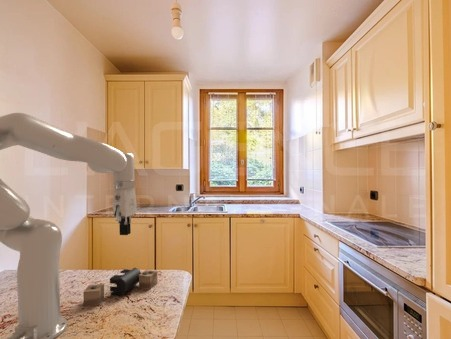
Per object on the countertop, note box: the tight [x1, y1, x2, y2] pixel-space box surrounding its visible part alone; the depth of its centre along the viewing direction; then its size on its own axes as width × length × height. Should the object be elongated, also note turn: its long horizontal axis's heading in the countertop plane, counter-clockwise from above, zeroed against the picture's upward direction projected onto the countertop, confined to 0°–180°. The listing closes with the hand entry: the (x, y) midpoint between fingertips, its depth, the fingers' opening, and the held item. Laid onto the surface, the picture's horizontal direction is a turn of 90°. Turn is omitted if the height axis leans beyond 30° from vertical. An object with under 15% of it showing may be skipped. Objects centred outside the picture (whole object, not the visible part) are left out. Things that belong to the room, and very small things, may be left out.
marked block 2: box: [138, 269, 158, 290], centre depth 99 cm, size 5×5×5 cm
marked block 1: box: [82, 283, 105, 308], centre depth 88 cm, size 5×5×5 cm
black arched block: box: [109, 267, 142, 297], centre depth 96 cm, size 10×7×7 cm
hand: (125, 234), depth 96 cm, fingers closed
